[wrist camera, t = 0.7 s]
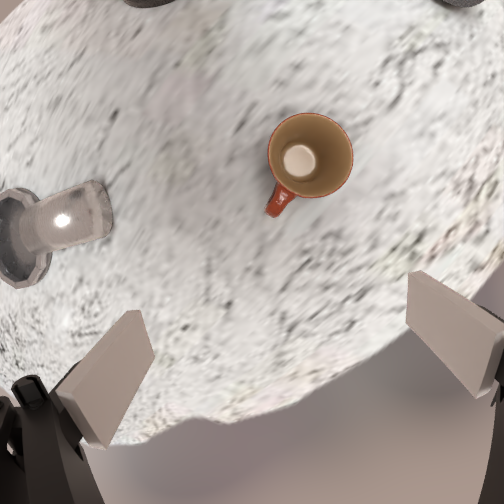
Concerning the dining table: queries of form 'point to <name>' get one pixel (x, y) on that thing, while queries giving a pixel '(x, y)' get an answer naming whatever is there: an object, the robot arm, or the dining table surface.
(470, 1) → the bowl
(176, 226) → the dining table surface
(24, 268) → the grey saucepan
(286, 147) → the mug
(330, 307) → the dining table surface
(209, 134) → the dining table surface
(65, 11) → the dining table surface
